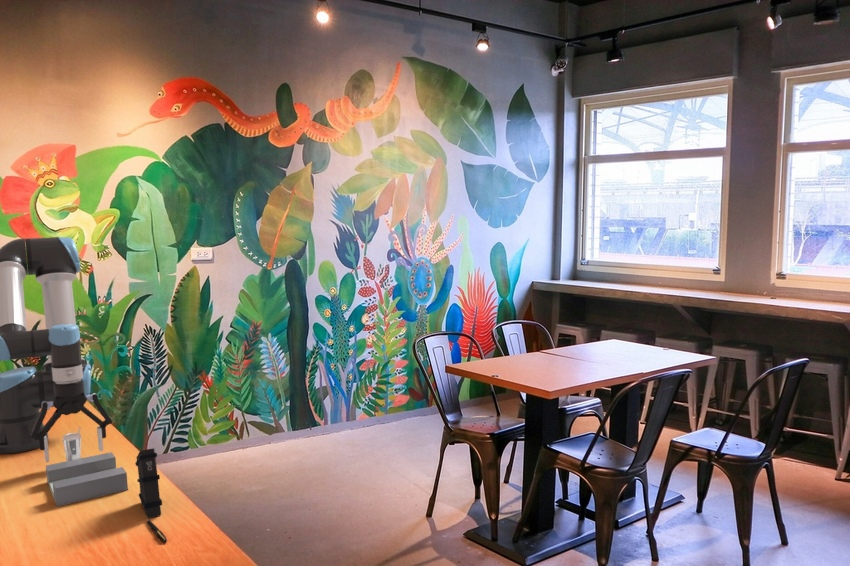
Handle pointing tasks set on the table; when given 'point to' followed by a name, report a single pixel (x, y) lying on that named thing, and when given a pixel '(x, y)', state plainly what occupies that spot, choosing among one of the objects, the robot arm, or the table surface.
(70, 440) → the milkshake
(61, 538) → the table surface
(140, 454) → the black ribbed column
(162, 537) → the fountain pen
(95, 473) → the frame
